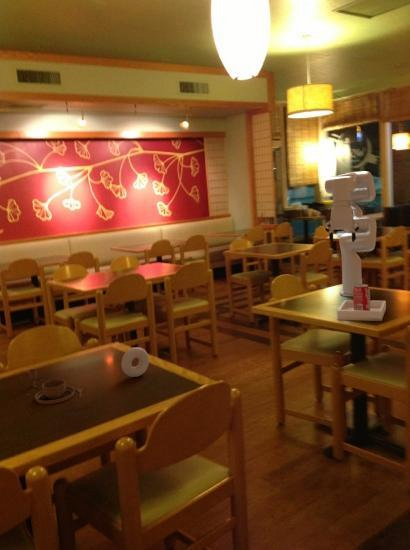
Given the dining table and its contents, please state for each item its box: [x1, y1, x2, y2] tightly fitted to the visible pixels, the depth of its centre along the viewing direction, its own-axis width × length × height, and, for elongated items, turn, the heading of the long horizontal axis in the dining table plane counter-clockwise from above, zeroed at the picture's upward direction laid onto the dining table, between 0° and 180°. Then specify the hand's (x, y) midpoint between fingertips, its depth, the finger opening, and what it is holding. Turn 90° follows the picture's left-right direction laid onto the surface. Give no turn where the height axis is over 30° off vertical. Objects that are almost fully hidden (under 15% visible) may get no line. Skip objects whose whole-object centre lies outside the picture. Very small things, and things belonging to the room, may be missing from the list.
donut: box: [121, 346, 150, 378], centre depth 176 cm, size 10×4×10 cm, turn 127°
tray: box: [336, 299, 387, 322], centre depth 233 cm, size 20×18×4 cm
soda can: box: [352, 283, 371, 311], centre depth 232 cm, size 7×7×12 cm
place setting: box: [25, 369, 84, 405], centre depth 168 cm, size 18×20×6 cm
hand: (342, 241), depth 247 cm, fingers open, 9 cm apart
